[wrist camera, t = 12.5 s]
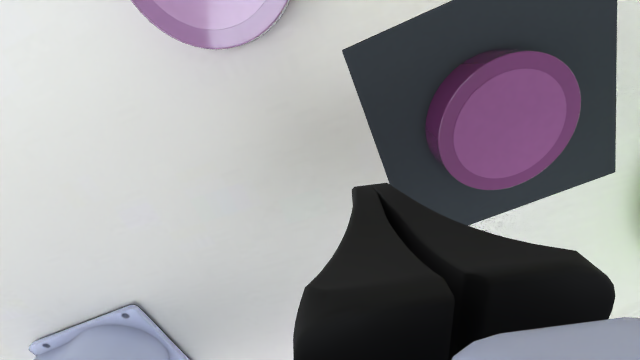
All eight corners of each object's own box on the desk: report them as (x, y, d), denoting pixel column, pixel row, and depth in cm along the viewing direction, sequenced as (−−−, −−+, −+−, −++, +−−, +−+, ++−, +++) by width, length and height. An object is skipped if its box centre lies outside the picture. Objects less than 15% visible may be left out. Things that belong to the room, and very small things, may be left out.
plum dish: (441, 193, 21) (455, 209, 19) (409, 83, 18) (422, 90, 16) (558, 148, 20) (585, 160, 18) (547, 23, 17) (578, 23, 15)
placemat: (410, 243, 23) (412, 245, 23) (341, 49, 17) (342, 50, 17) (611, 170, 21) (615, 172, 21) (612, -73, 15) (618, -75, 15)
